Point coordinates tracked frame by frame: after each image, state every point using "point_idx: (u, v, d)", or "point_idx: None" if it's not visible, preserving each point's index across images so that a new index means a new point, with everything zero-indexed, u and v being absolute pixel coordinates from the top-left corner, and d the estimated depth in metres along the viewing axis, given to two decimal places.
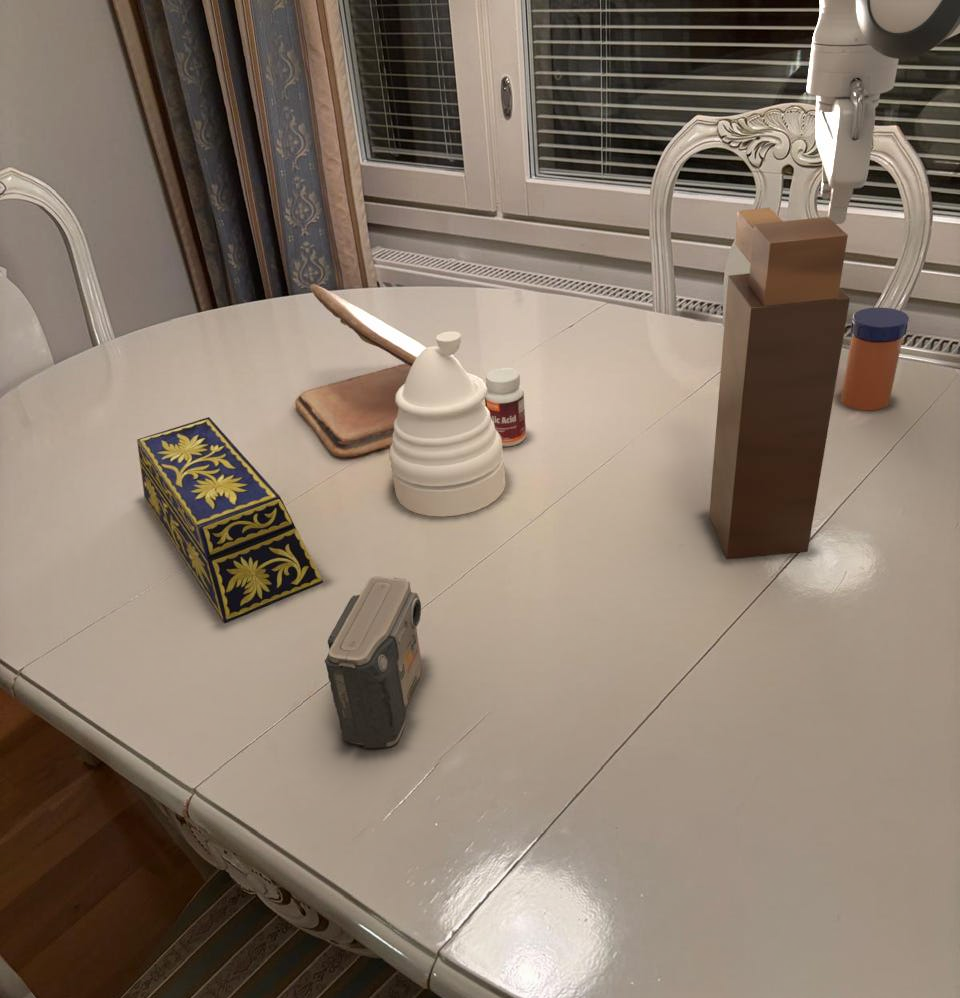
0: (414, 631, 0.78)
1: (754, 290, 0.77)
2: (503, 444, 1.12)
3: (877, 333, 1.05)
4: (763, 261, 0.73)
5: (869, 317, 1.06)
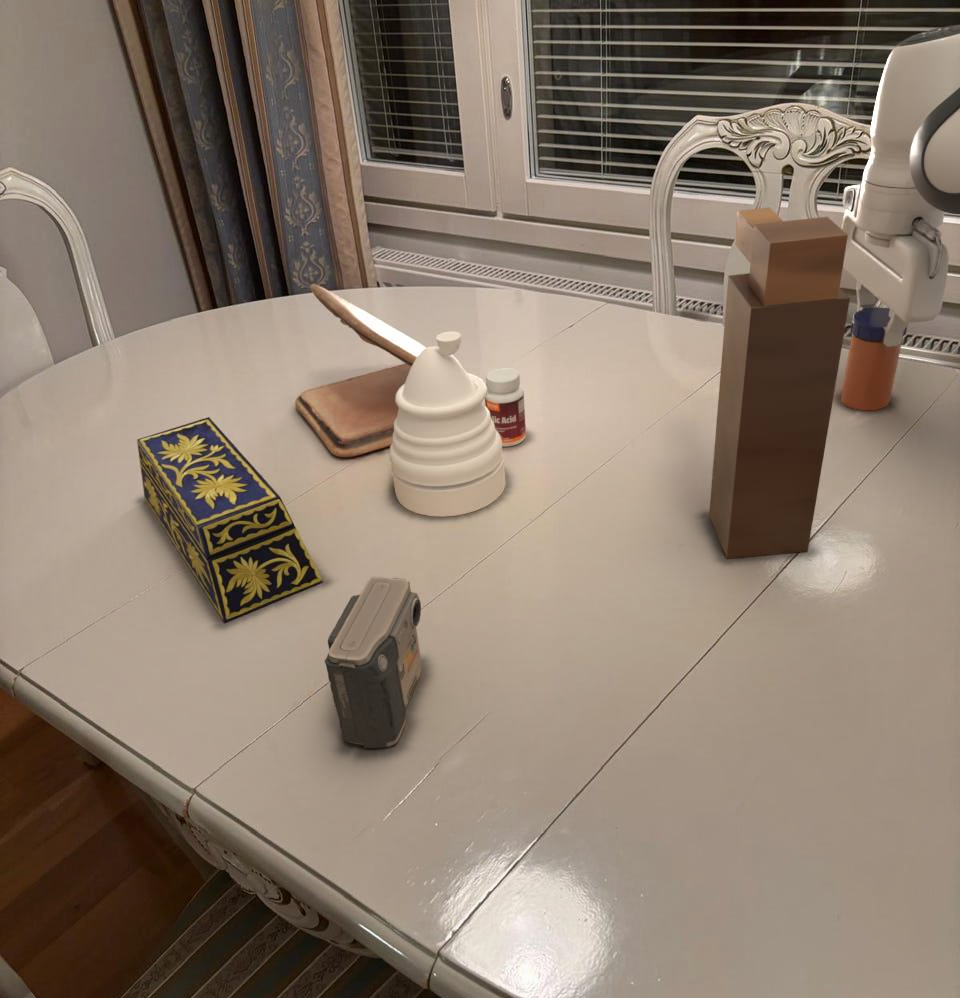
0: (414, 631, 0.78)
1: (754, 290, 0.77)
2: (503, 444, 1.12)
3: (877, 333, 1.05)
4: (763, 261, 0.73)
5: (869, 317, 1.06)
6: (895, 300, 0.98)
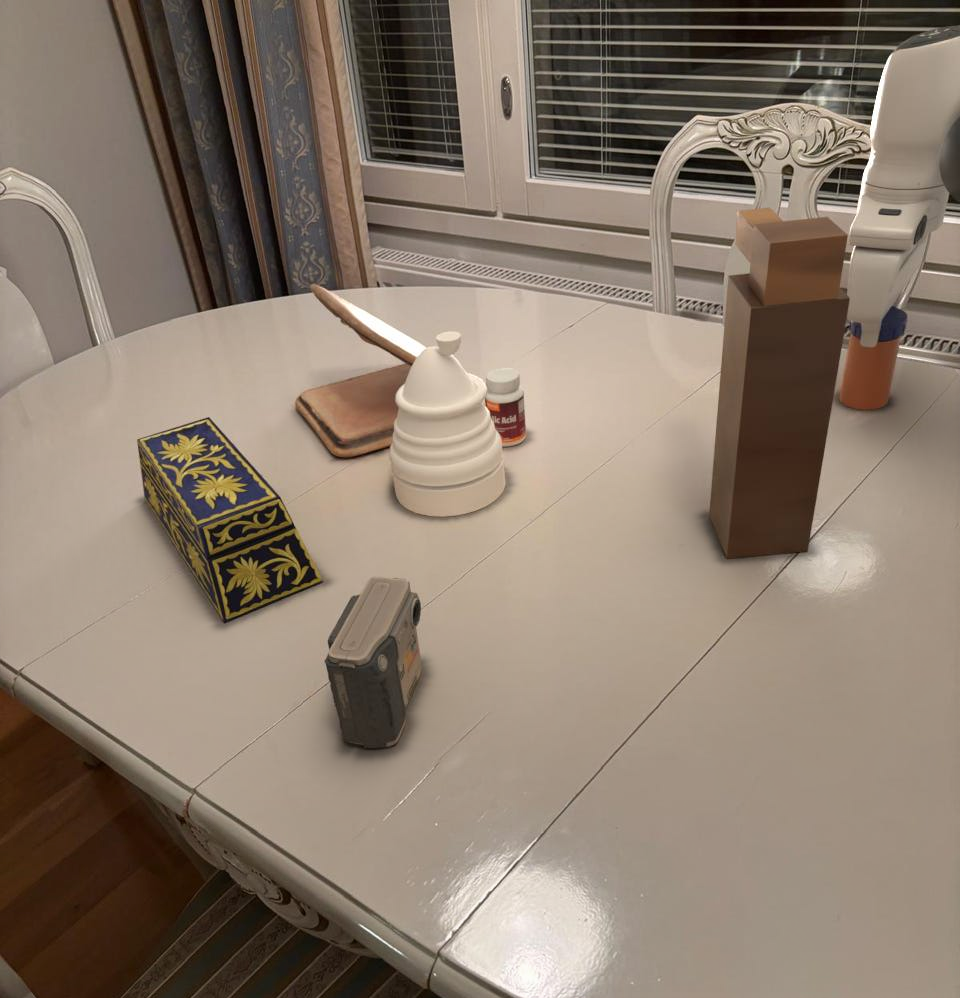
0: (414, 631, 0.78)
1: (754, 290, 0.77)
2: (503, 444, 1.12)
3: None
4: (763, 261, 0.73)
5: (889, 317, 1.05)
6: (918, 261, 1.07)
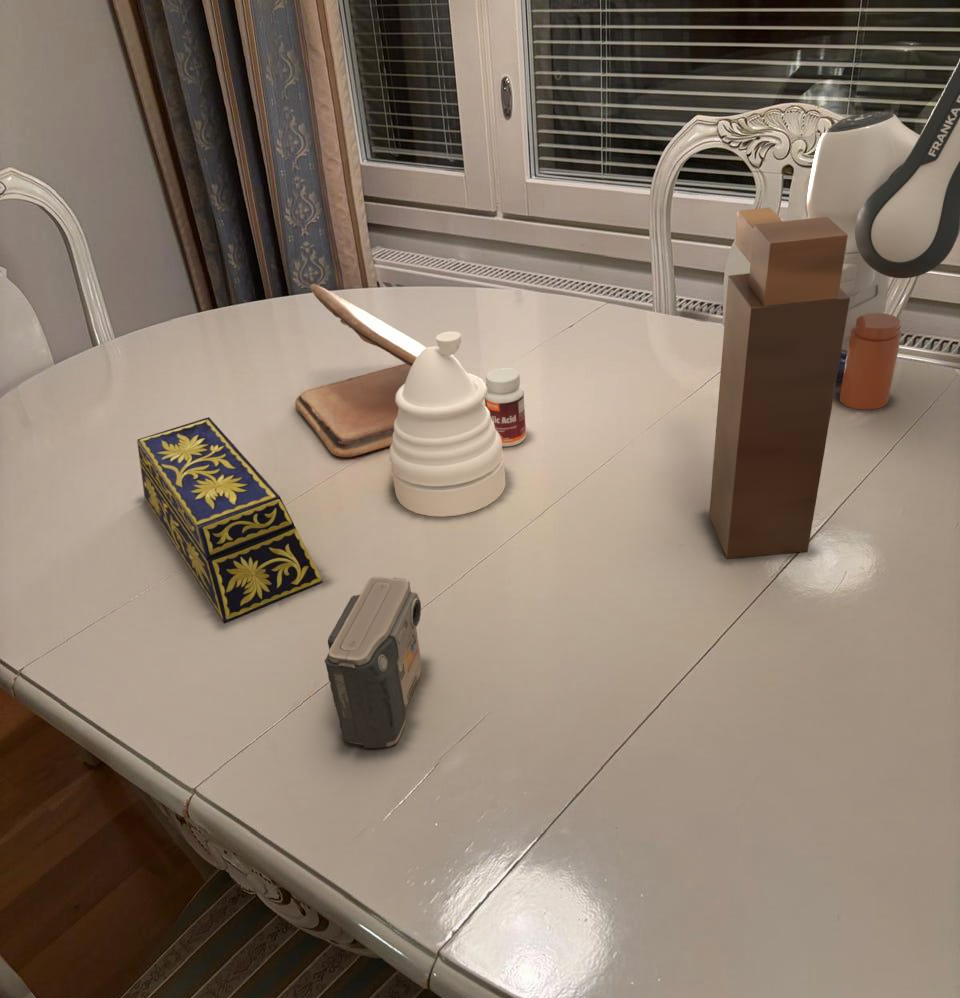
0: (414, 631, 0.78)
1: (754, 290, 0.77)
2: (503, 444, 1.12)
3: None
4: (763, 261, 0.73)
5: None
6: None
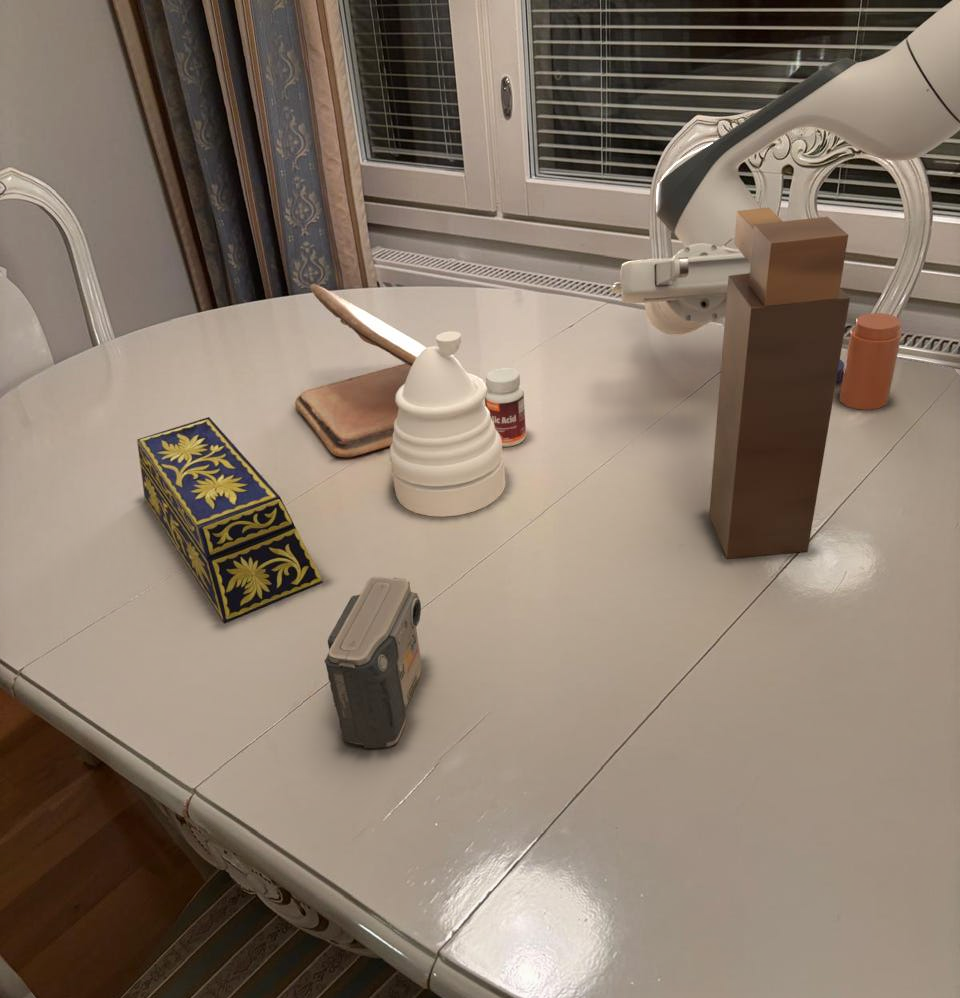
0: (414, 631, 0.78)
1: (754, 290, 0.77)
2: (503, 444, 1.12)
3: None
4: (764, 262, 0.73)
5: None
6: (653, 295, 1.01)
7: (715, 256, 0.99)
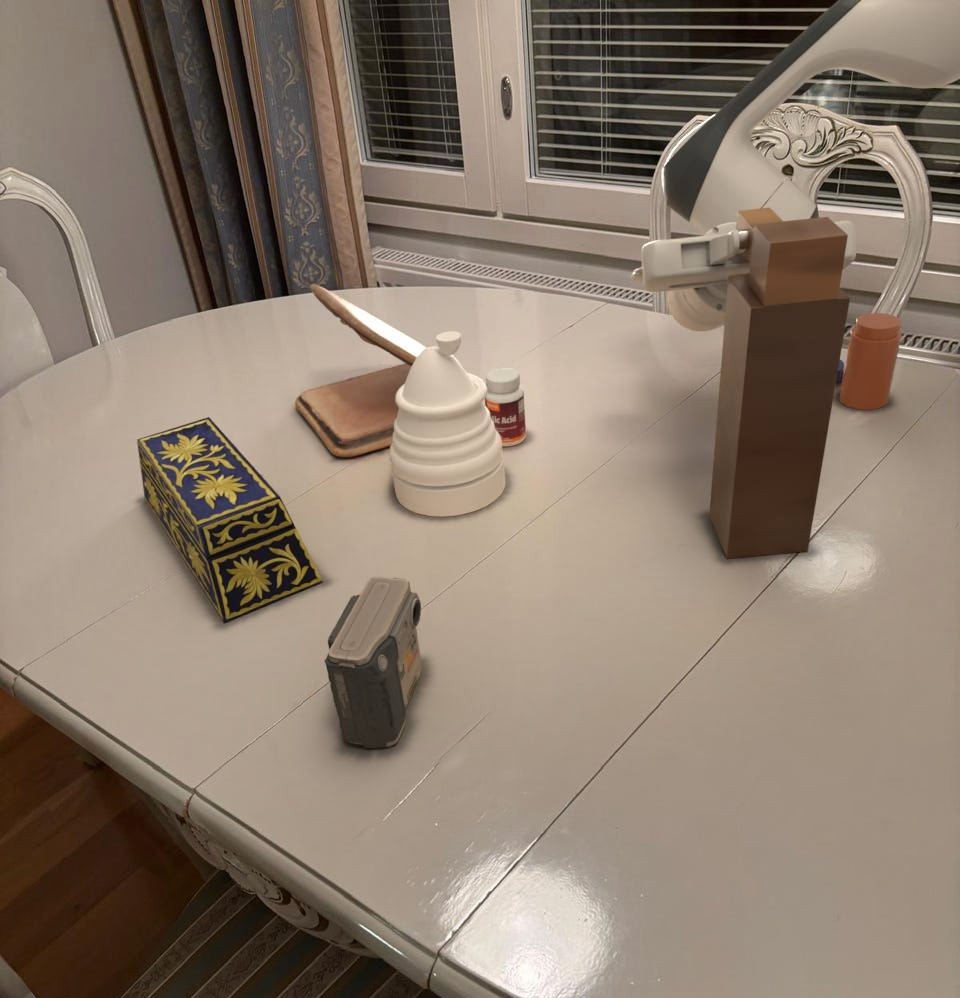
0: (414, 631, 0.78)
1: (754, 290, 0.77)
2: (503, 444, 1.12)
3: None
4: (763, 261, 0.73)
5: None
6: (680, 280, 0.88)
7: None
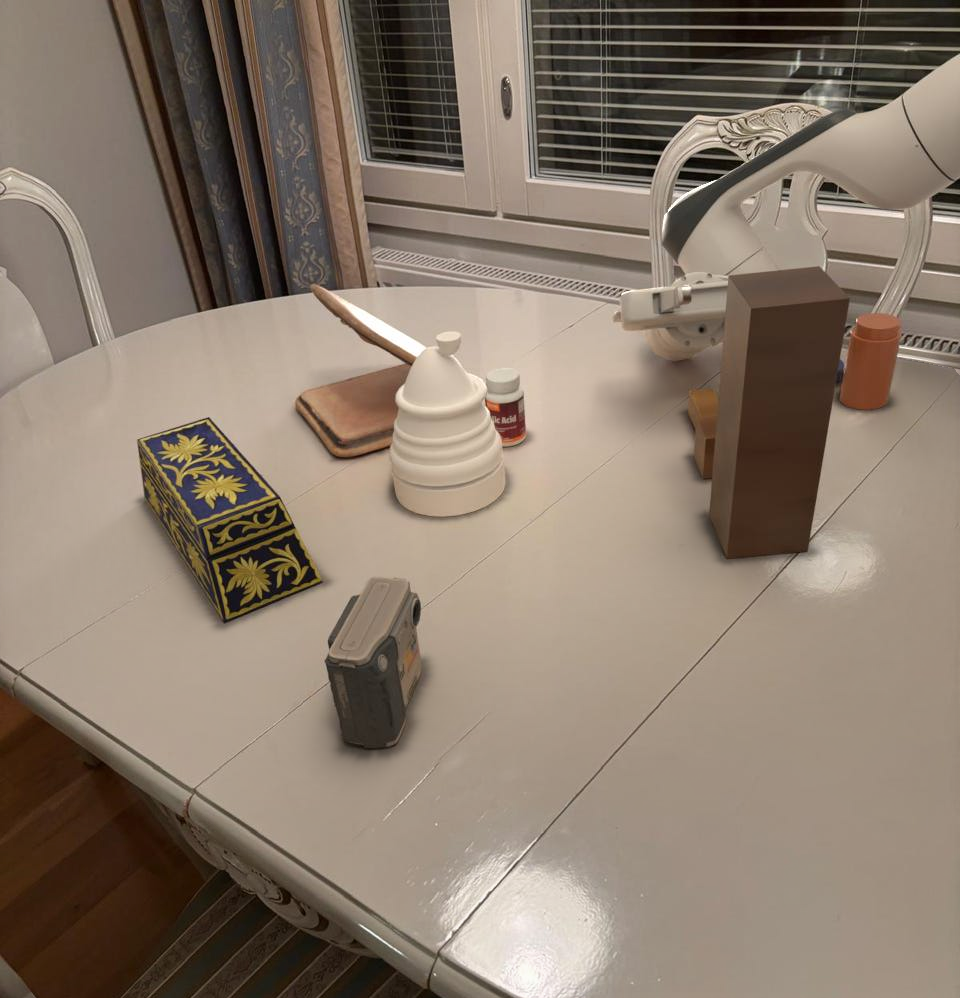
0: (414, 631, 0.78)
1: (697, 463, 1.04)
2: (503, 444, 1.12)
3: None
4: (702, 448, 1.01)
5: None
6: (652, 322, 1.05)
7: (710, 284, 1.03)
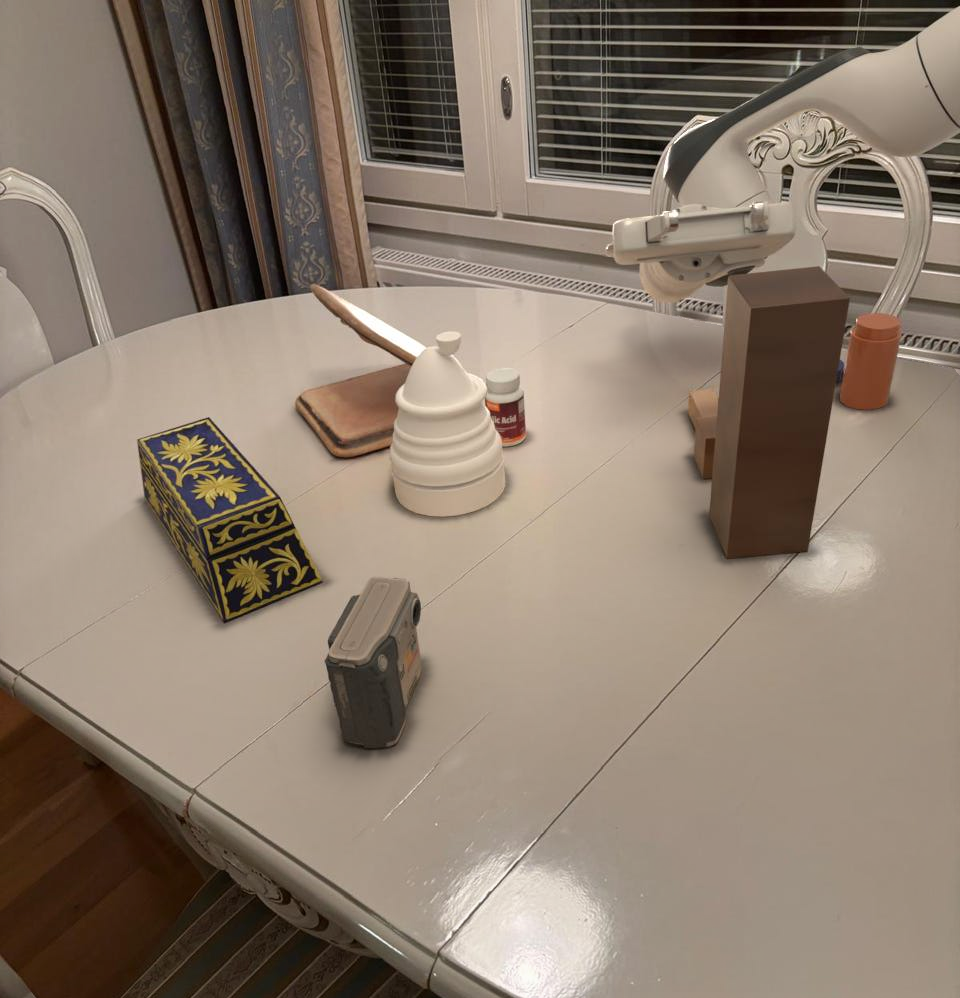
0: (414, 631, 0.78)
1: (697, 463, 1.04)
2: (503, 444, 1.12)
3: None
4: (702, 448, 1.01)
5: None
6: (645, 253, 1.03)
7: (705, 211, 1.00)
